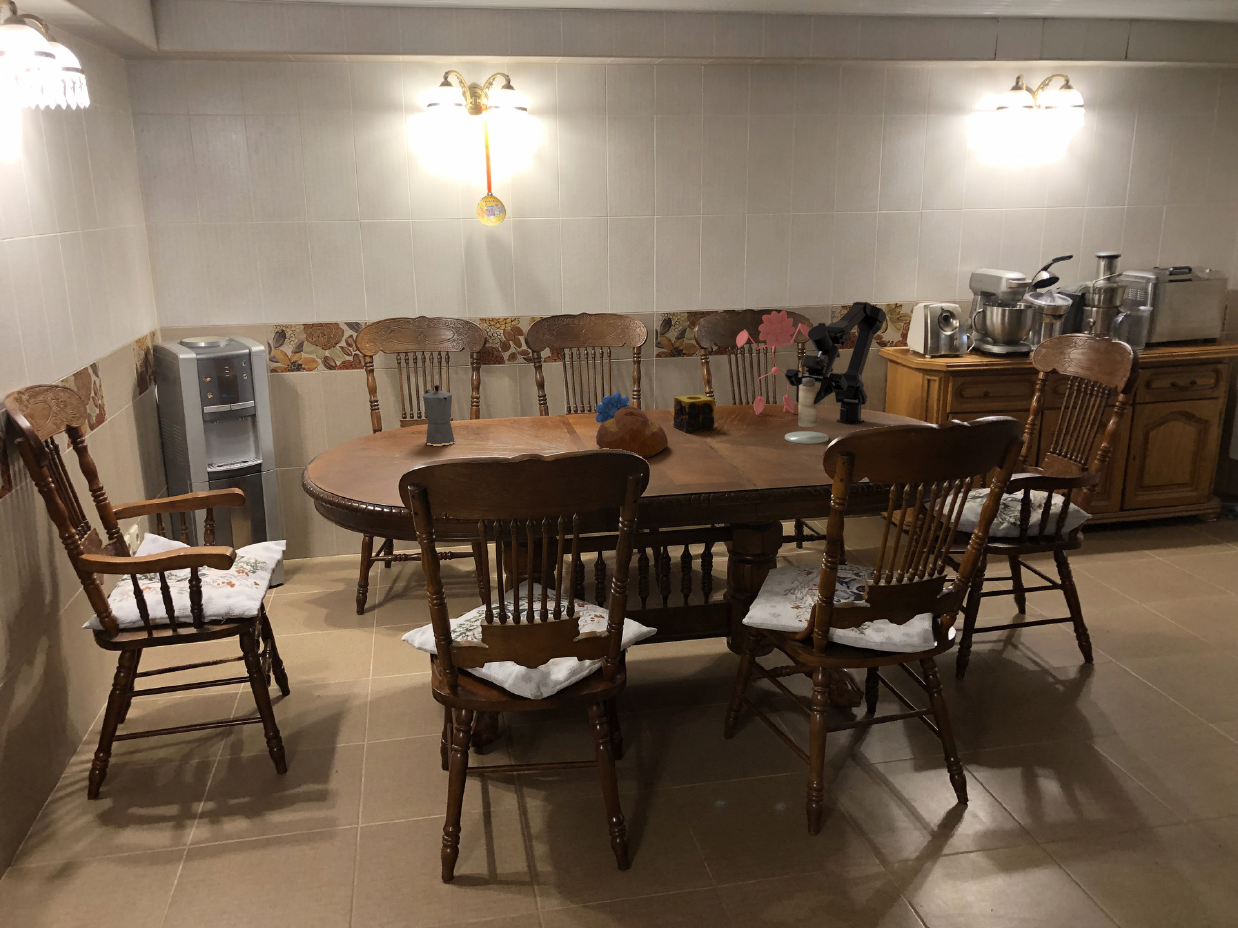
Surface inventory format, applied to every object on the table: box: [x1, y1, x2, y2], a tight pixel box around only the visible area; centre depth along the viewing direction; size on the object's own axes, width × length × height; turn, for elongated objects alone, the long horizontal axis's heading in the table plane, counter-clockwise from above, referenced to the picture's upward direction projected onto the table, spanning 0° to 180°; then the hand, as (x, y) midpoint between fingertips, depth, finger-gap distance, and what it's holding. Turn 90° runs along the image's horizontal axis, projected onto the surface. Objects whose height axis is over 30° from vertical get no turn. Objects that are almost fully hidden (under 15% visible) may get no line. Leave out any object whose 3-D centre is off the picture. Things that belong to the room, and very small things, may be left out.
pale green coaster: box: [784, 430, 830, 445], centre depth 296 cm, size 13×13×1 cm
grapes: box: [595, 392, 631, 425], centre depth 313 cm, size 12×7×12 cm, turn 97°
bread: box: [595, 405, 669, 459], centre depth 287 cm, size 21×33×12 cm, turn 1°
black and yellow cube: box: [673, 394, 715, 434], centre depth 312 cm, size 10×10×10 cm
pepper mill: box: [797, 378, 819, 428], centre depth 294 cm, size 6×6×14 cm
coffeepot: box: [422, 384, 456, 444], centre depth 299 cm, size 15×9×18 cm, turn 33°
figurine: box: [735, 310, 811, 421], centre depth 325 cm, size 15×26×35 cm, turn 95°
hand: (805, 402), depth 293 cm, fingers closed on pepper mill, 5 cm apart
